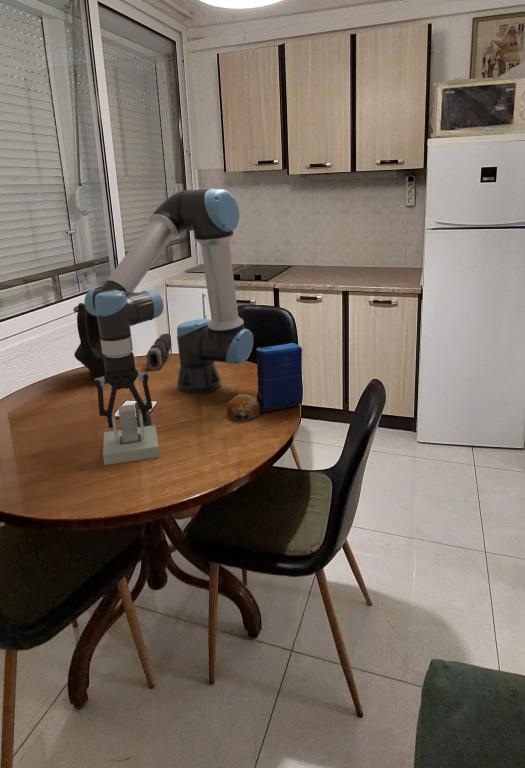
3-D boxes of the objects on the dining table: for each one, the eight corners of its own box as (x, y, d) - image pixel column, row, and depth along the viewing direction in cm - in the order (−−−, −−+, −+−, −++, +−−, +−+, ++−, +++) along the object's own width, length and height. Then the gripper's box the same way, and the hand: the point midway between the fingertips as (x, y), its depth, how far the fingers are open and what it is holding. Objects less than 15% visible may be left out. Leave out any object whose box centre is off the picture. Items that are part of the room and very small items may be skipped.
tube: (179, 354, 240) (165, 368, 210) (164, 358, 240) (149, 373, 211) (171, 330, 237) (156, 341, 208) (156, 334, 238) (139, 346, 209)
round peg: (151, 425, 164) (148, 400, 161) (152, 431, 160) (149, 405, 157) (137, 427, 163) (134, 402, 160) (138, 433, 159) (134, 407, 156)
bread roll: (264, 424, 169) (268, 398, 169) (246, 422, 160) (251, 395, 160) (236, 418, 174) (241, 393, 174) (218, 416, 165) (223, 390, 165)
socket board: (156, 434, 157) (155, 425, 156) (159, 456, 145) (158, 446, 144) (105, 441, 155) (104, 432, 153) (104, 465, 142) (102, 454, 141)
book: (260, 415, 166) (259, 351, 159) (254, 409, 171) (252, 346, 164) (303, 406, 172) (303, 344, 165) (295, 401, 176) (295, 340, 169)
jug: (91, 368, 217) (79, 292, 207) (136, 368, 215) (126, 291, 204) (66, 387, 198) (51, 305, 187) (116, 388, 195) (103, 304, 185)
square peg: (139, 444, 152) (134, 404, 148) (139, 451, 148) (134, 409, 144) (124, 446, 151) (118, 406, 147) (124, 453, 147) (118, 411, 143)
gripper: (155, 345, 146) (165, 425, 154) (79, 353, 142) (93, 435, 150) (157, 353, 139) (167, 436, 147) (77, 362, 135) (92, 447, 143)
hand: (129, 435), depth 148 cm, fingers open, 6 cm apart
